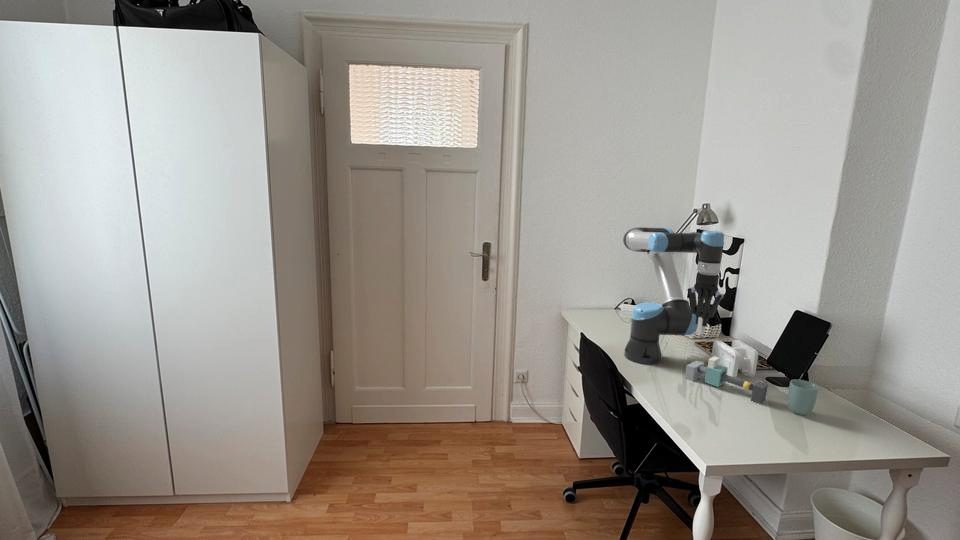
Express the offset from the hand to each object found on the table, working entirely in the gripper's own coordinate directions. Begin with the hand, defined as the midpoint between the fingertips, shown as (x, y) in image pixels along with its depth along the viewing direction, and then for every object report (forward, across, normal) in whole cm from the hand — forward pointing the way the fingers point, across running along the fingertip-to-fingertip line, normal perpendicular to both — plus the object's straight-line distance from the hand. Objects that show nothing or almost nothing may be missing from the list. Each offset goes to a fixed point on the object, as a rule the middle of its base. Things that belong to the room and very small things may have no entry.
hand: (700, 333), depth 174 cm
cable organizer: (+18, +7, +17) cm, 26 cm away
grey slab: (+18, 0, 0) cm, 18 cm away
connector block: (+18, +23, 0) cm, 29 cm away
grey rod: (+15, +11, 0) cm, 19 cm away
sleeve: (+18, +8, 0) cm, 20 cm away
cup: (+19, +34, +3) cm, 39 cm away
